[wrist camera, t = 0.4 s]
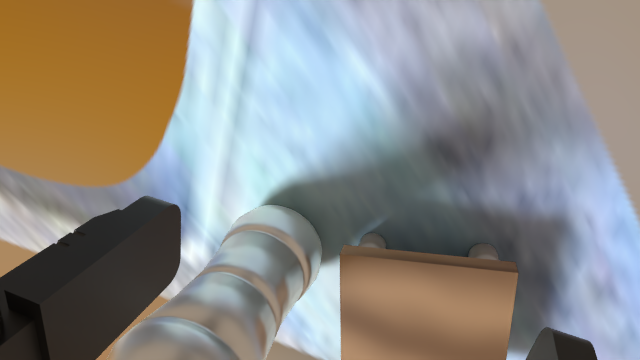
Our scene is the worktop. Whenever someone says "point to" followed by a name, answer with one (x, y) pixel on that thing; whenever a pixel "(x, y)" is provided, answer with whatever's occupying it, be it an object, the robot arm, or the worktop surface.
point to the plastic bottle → (234, 294)
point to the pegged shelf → (424, 303)
